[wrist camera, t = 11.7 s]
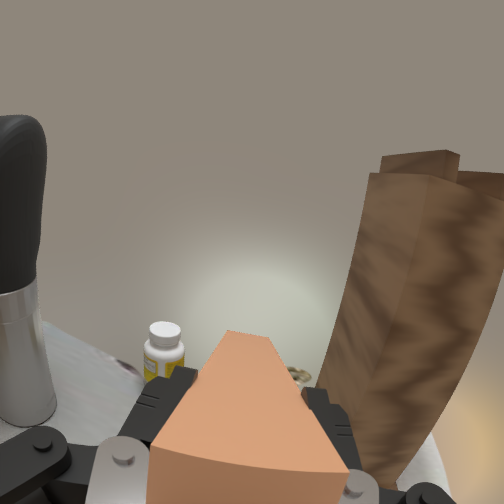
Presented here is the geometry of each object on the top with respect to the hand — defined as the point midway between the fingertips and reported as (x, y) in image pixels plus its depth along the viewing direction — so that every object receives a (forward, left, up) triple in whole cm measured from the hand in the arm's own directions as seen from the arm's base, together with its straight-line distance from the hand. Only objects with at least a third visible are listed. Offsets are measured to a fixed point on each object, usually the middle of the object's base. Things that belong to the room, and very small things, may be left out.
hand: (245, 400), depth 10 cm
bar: (0, +4, -5) cm, 6 cm away
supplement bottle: (-10, +25, -23) cm, 36 cm away
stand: (+14, +17, -23) cm, 32 cm away
